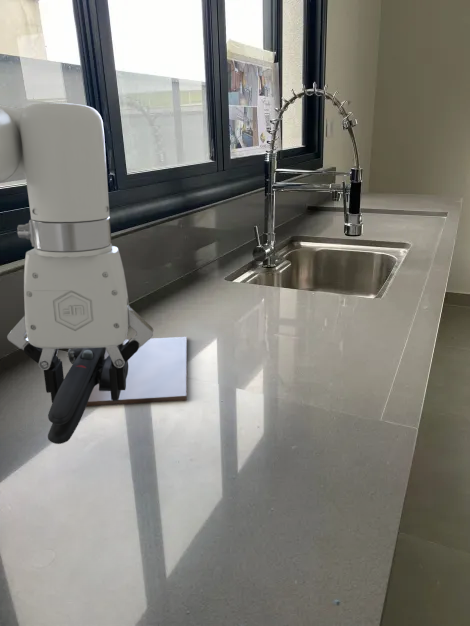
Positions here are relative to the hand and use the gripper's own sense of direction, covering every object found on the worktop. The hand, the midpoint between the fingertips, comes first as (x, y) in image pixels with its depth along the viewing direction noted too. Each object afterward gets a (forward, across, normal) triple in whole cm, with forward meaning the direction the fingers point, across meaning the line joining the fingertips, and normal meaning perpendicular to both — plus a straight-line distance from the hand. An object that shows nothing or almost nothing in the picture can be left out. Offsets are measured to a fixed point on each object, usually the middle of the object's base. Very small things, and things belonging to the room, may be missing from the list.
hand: (87, 394), depth 56 cm
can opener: (+1, 0, 0) cm, 1 cm away
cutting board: (+9, +2, +25) cm, 27 cm away
